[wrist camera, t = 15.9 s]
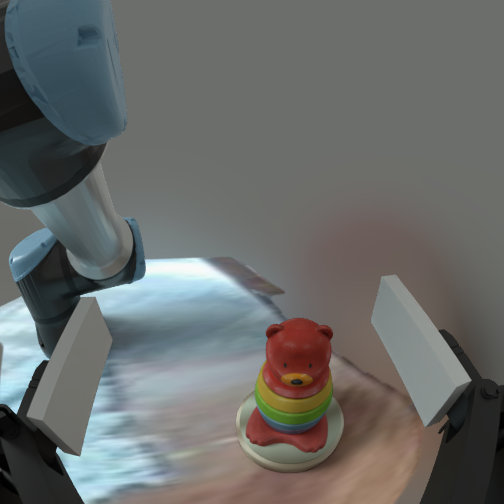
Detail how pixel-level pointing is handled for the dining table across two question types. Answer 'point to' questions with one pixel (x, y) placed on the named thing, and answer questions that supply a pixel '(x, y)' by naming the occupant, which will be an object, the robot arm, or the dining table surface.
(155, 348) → the dining table surface
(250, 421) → the stacking bear
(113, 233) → the robot arm
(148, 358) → the dining table surface
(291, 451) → the stand
